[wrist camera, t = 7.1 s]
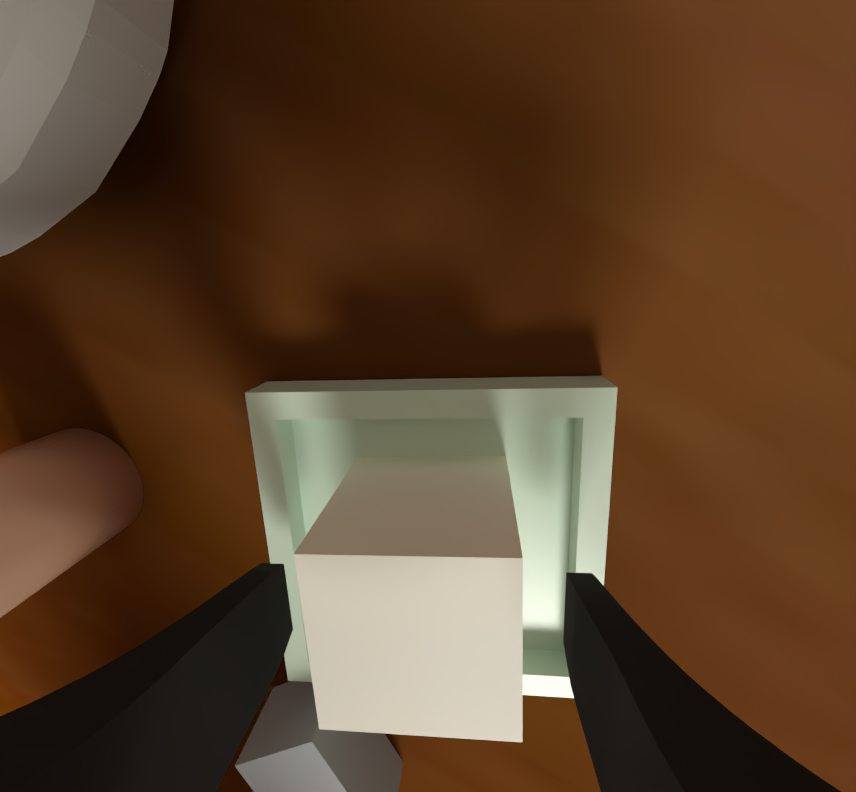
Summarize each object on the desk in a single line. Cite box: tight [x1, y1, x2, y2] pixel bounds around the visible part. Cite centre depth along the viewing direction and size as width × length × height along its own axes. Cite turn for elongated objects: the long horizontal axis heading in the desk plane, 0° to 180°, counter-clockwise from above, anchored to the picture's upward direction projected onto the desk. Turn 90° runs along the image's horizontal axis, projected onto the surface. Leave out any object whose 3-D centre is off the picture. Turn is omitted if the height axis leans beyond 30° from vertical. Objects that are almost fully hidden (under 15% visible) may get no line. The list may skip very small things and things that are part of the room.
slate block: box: [235, 681, 403, 792], centre depth 16 cm, size 5×3×3 cm, turn 28°
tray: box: [245, 376, 617, 698], centre depth 14 cm, size 10×10×1 cm
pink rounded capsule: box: [0, 428, 144, 618], centre depth 13 cm, size 4×4×5 cm
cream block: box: [294, 456, 523, 742], centre depth 12 cm, size 4×4×5 cm
